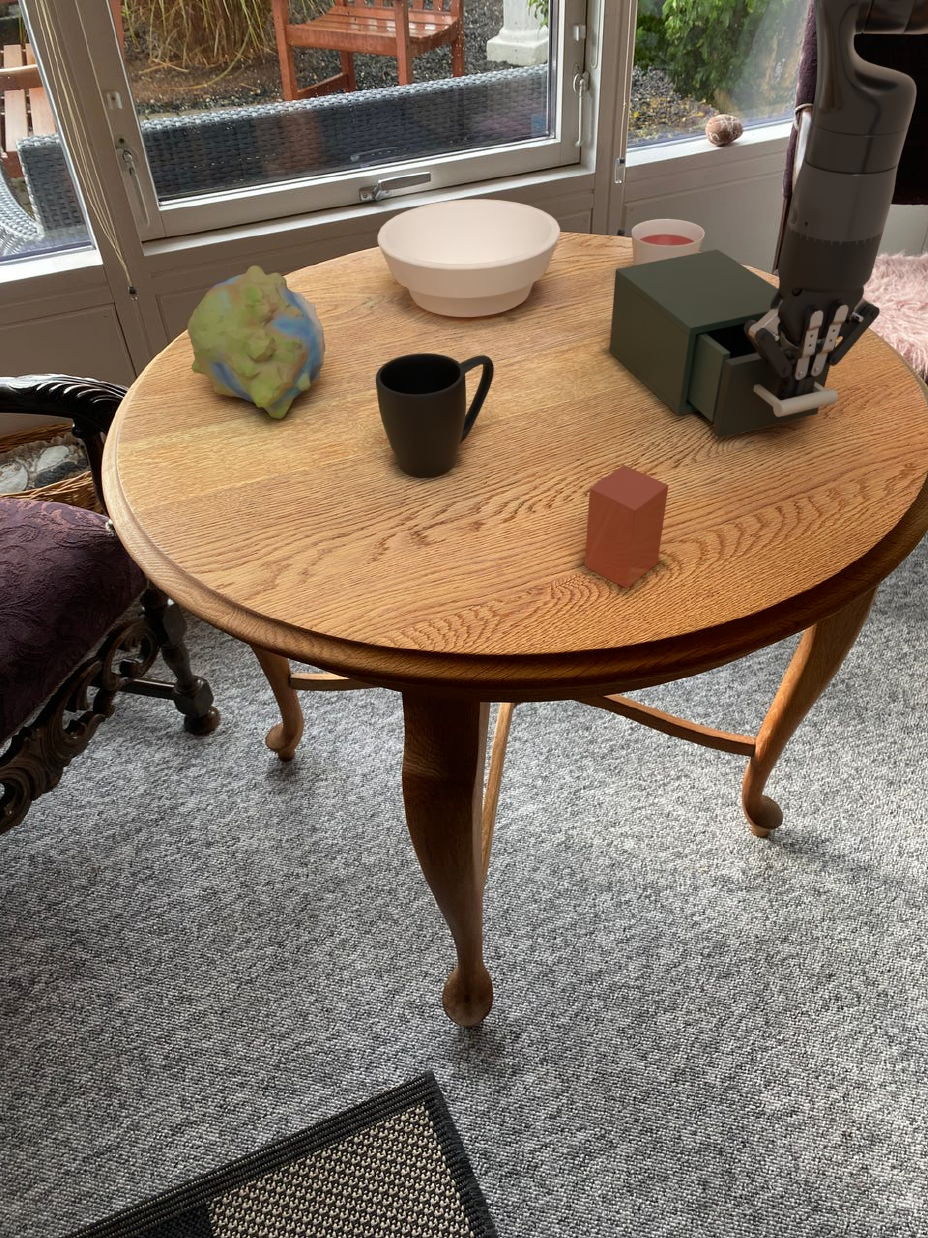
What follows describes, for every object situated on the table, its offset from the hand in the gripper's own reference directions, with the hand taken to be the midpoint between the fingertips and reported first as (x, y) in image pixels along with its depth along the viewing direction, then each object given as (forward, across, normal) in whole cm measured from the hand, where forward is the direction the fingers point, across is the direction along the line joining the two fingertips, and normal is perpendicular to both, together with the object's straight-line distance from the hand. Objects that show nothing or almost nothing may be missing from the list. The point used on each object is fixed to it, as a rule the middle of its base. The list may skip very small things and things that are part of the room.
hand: (791, 408), depth 84 cm
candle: (+4, +8, +39) cm, 40 cm away
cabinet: (+4, 0, +17) cm, 17 cm away
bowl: (+4, -16, +45) cm, 48 cm away
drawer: (+3, 0, +7) cm, 8 cm away
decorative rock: (+4, -46, +30) cm, 55 cm away
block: (+4, -23, -10) cm, 25 cm away
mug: (+4, -31, +12) cm, 34 cm away
